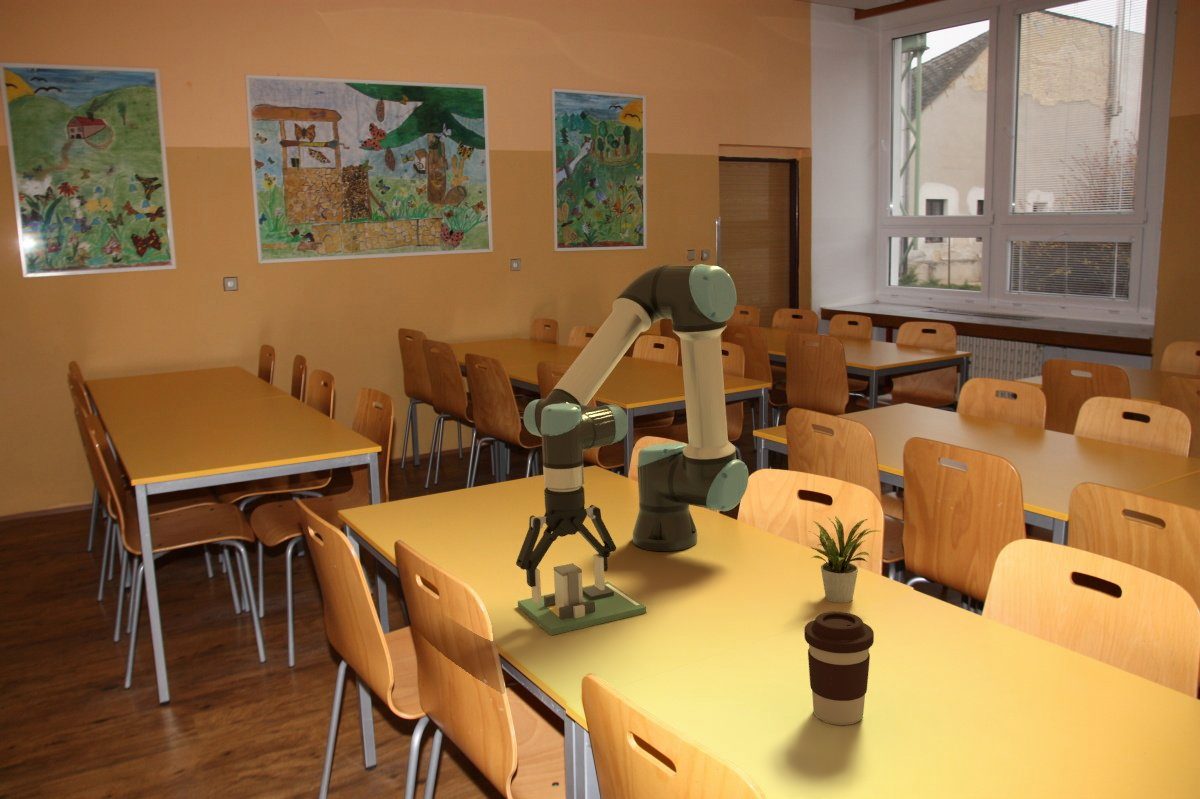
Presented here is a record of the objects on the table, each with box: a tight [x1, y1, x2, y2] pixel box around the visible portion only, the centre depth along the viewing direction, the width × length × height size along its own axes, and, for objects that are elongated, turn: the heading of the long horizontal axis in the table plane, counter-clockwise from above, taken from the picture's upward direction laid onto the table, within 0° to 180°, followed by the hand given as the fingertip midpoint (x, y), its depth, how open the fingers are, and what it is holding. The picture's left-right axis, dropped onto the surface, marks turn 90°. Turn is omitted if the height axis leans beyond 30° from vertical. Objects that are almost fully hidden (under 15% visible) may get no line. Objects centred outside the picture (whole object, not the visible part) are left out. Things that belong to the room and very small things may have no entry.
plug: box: [553, 562, 583, 609], centre depth 186 cm, size 4×4×8 cm
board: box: [517, 581, 647, 636], centre depth 189 cm, size 20×16×3 cm
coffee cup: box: [803, 610, 875, 726], centre depth 144 cm, size 10×10×15 cm
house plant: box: [807, 515, 880, 604], centre depth 189 cm, size 14×14×16 cm
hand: (568, 594), depth 186 cm, fingers open, 13 cm apart
